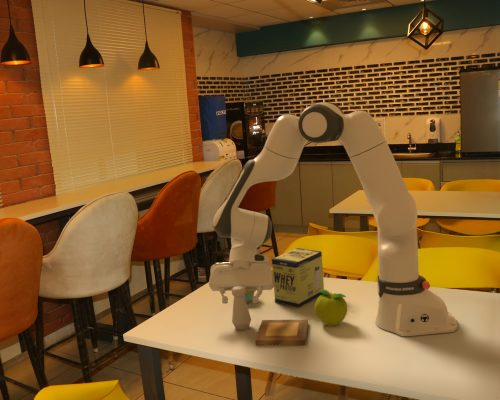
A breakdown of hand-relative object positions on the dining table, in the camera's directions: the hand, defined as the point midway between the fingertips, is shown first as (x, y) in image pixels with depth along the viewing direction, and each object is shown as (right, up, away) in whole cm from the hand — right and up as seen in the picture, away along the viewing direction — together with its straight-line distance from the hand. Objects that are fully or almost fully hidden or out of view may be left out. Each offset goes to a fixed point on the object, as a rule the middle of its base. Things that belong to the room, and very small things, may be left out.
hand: (239, 302), depth 156 cm
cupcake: (+2, -4, +24) cm, 24 cm away
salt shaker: (+1, -8, +1) cm, 8 cm away
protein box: (+20, -3, +22) cm, 30 cm away
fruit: (+28, -6, -2) cm, 28 cm away
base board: (+13, -8, -6) cm, 16 cm away
